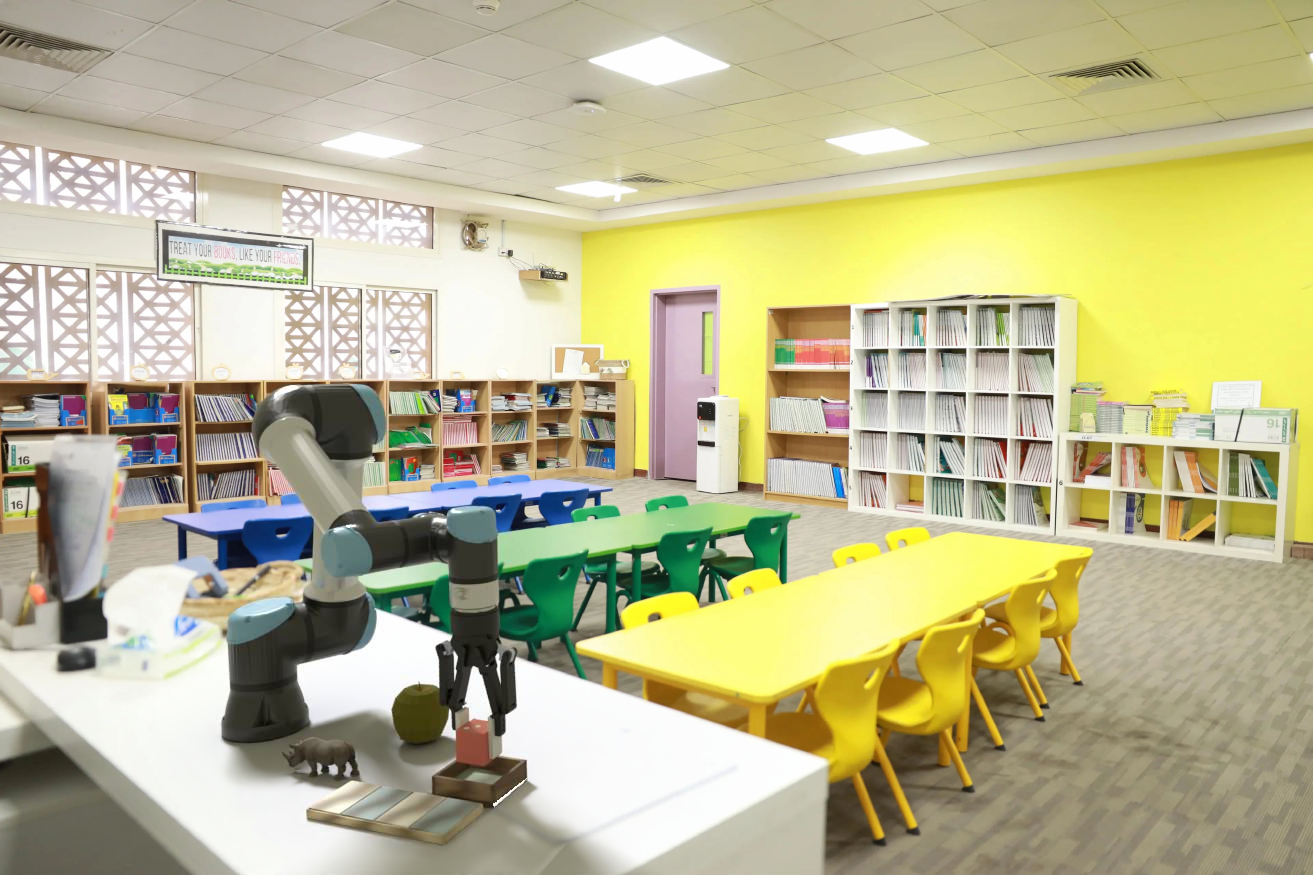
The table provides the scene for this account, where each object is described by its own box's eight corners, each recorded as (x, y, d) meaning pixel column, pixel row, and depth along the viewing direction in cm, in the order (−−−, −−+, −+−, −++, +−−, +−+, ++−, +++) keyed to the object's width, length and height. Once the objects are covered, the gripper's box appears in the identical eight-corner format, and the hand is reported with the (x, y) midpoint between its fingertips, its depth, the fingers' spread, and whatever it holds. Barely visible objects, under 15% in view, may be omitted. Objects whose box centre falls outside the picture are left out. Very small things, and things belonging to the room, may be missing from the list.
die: (456, 761, 137) (455, 729, 137) (473, 749, 142) (473, 718, 142) (484, 766, 136) (483, 733, 135) (501, 753, 140) (500, 722, 140)
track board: (306, 817, 131) (306, 808, 131) (352, 787, 140) (352, 779, 140) (443, 844, 122) (443, 834, 122) (483, 811, 132) (482, 802, 132)
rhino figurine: (292, 764, 150) (290, 729, 150) (363, 771, 146) (362, 736, 146) (275, 774, 146) (274, 739, 146) (348, 782, 142) (347, 746, 142)
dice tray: (432, 797, 137) (431, 776, 136) (468, 770, 146) (467, 750, 146) (494, 808, 133) (493, 786, 132) (527, 779, 142) (526, 759, 142)
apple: (396, 755, 152) (394, 693, 152) (389, 735, 161) (387, 676, 161) (454, 745, 156) (452, 684, 156) (445, 726, 165) (442, 668, 165)
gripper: (410, 608, 137) (416, 754, 139) (513, 617, 131) (518, 770, 132) (439, 596, 144) (444, 736, 146) (538, 604, 138) (542, 750, 139)
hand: (479, 752), depth 139 cm, fingers open, 5 cm apart
